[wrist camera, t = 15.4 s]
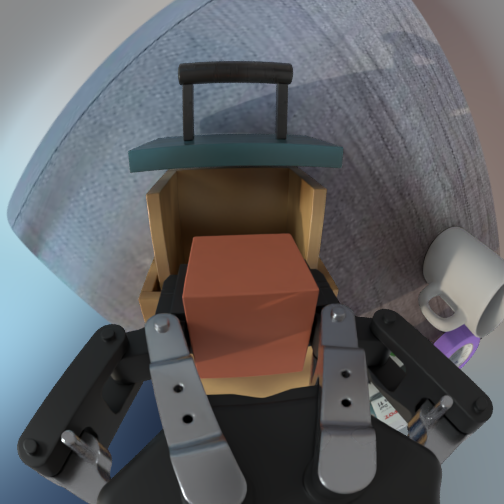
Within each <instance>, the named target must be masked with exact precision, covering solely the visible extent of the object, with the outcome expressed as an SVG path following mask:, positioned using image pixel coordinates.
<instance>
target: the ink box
mask: <svg viewBox="0 0 504 504" xmlns="http://www.w3.org/2000/svg"><path fill="white" fill-rule="evenodd" d="M390 357H391V358H392V359H393V360H394V361H395V362H396V363H397V364H398V365H399V366H400V367H401V369H402V370H403V371H404V372H405V373H406V368H405V366H404V364H403V363H402V362H401V361H400V360H399V359H398V358H397V357H396V356H395V355H394V354H393V353H392V352H391V354H390ZM368 386H369V398H370V402H371V404H372V406H373V409H374V411H375V414H376V416H377V418H378V419H379V420H381V421H382V422H384V423H386V424H387V425H389V426H391V427H392V428H394V429H396V430H397V431H398V430H400V429H402V428H403V427H405V426H407V425H408V424H407V422H406V421H405V420H404V419H403V418H402V417H401V416H400V414H399V413H398V412H397V411H396V410H395V409H394V408H393V406H392V405H391V404H390V403H389V402H388V401H387V400H386V398H385V397H384V396H383V395H382V394H381V393H380V392H379V390H378V389H377V388H376V387H375V386H374V385H373V384H372V383H371V381H370V380H369V379H368Z"/></svg>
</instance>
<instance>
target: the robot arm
mask: <svg viewBox="0 0 504 504" xmlns="http://www.w3.org/2000/svg"><path fill="white" fill-rule="evenodd" d="M304 260H305V259H304ZM305 262H306V264H307V266H308V268H309V270H310V272H311V274H312V276H313V278H314V280H315V282H316V284H317V286H318V288H319V294H318V300H317V305H316V310H315V316H314V321H313V326H312V331H311V335H310V340H309V345H308V347H309V346H311V347H312V350H313V351H312V355H311V366H310V379H309V386H306V387H299V388H292V389H289V390H286V391H283V392H280V393H277V394H274V395H271V396H268V397H265V398H259V397H251V396H244V395H237V394H212V395H206V392H205V390H204V387H203V384H202V382H201V379H200V376H199V374H198V371H197V368H196V365H195V363H194V360H193V357H192V355H190V354H193V352H192V347H191V342H190V337H189V332H188V327H187V321H186V316H185V310H184V304H183V299H182V295H183V290H184V284H185V278H186V273H187V267H188V264H180V268H179V272H178V275H169V276H168V278H167V279H166V280H165V281H164V283H163V286H162V290H161V294H160V297H159V301H158V305H157V309H156V312H155V315H154V316H152V317H150V318H149V319H148V320H147V321H146V323H145V327H144V328H142V329H139V330H135V331H131V332H127V333H125V330H124V328H122V327H121V326H119V325H116V324H109V325H105V326H103V327H101V328H100V329H98V330H97V331H96V332H95V333H94V335H93V336H92V337H91V339H90V340H89V341H88V342H87V344H86V345H85V346H84V347H83V349H82V350H81V351H80V352H79V354H78V355H77V356H76V358H75V359H74V360H73V362H72V363H71V364H70V366H69V367H68V368H67V370H66V371H65V372H64V374H63V375H62V376H61V378H60V379H59V380H58V382H57V383H56V385H55V386H54V387H53V389H52V390H51V392H50V393H49V395H48V396H47V397H46V399H45V400H44V402H43V403H42V405H41V406H40V407H39V409H38V410H37V412H36V413H35V415H34V416H33V418H32V419H31V421H30V422H29V424H28V426H27V427H26V429H25V430H24V432H23V433H22V435H21V437H20V438H19V441H18V445H17V450H18V455H19V457H20V459H21V460H22V461H23V462H24V463H25V464H26V465H28V466H29V467H31V468H32V469H34V470H35V471H37V472H38V473H39V474H40V475H41V476H43V477H45V478H46V479H48V480H50V481H52V482H54V483H55V484H57V485H59V486H61V487H64V488H65V489H67V490H68V491H70V492H72V493H73V494H75V495H76V496H78V497H79V498H81V499H83V500H84V501H86V502H87V503H89V504H440V487H441V479H442V469H441V464H442V463H443V462H444V461H445V460H446V459H447V458H448V457H449V456H450V455H451V454H452V453H453V452H454V450H455V449H456V448H457V447H458V446H459V445H460V444H461V443H462V442H463V441H465V440H466V439H467V438H468V437H469V436H471V435H472V434H473V433H474V432H475V431H476V430H477V429H479V428H480V427H481V426H482V425H483V424H484V423H485V422H486V421H487V420H488V419H489V418H490V417H491V415H492V412H493V406H492V402H491V400H490V398H489V397H488V396H487V395H486V394H485V393H484V392H483V391H482V390H481V389H480V388H479V387H478V386H477V385H476V384H475V383H474V382H473V381H472V380H471V379H470V378H469V377H468V376H467V375H466V374H465V373H464V372H462V371H461V370H460V369H459V368H458V367H457V366H456V365H455V364H454V363H453V362H452V361H451V360H450V359H449V358H448V357H447V356H445V355H444V354H443V353H442V352H441V351H440V350H439V349H438V348H437V347H436V346H434V345H433V344H432V343H431V342H430V341H429V340H428V339H427V338H426V337H424V336H423V335H422V334H421V333H420V332H419V331H418V330H416V329H415V328H414V327H413V326H412V325H411V324H410V323H408V322H407V321H406V320H405V319H404V318H403V317H402V316H400V315H399V314H398V313H396V312H395V311H392V310H389V309H381V310H378V311H376V312H375V313H374V316H373V318H365V317H357V316H355V315H354V313H353V311H352V310H351V309H350V308H349V307H347V306H345V305H342V304H340V303H339V301H338V299H337V297H336V296H335V294H334V292H333V290H332V288H331V287H330V285H329V283H328V282H327V280H326V278H325V276H324V274H323V273H321V272H320V271H319V270H317V269H310V267H309V265H308V263H307V261H306V260H305ZM391 352H392V353H393V354H394V355H395V356H396V357H397V358H398V359H399V360H400V361H401V362H402V363H403V364H404V366H405V368H406V373H405V372H404V371H403V370H402V369H401V367H400V366H399V365H398V364H397V363H396V362H395V361H394V360H393V359H392V358H391V357H390V354H391ZM150 379H152V384H153V388H154V393H155V397H156V401H157V406H158V410H159V414H160V418H161V422H162V426H163V429H162V430H161V431H160V432H159V433H158V434H157V435H156V436H155V437H154V438H153V439H152V440H151V441H150V442H149V443H148V444H147V445H146V446H145V447H144V448H143V449H142V450H141V451H140V452H139V453H138V454H137V455H136V456H135V457H134V458H133V459H132V460H131V461H130V462H129V463H128V464H127V465H126V466H125V467H124V468H122V469H121V470H120V471H119V472H118V473H117V474H116V475H115V476H114V477H113V478H112V479H111V477H110V469H111V465H112V457H111V454H110V452H109V451H108V447H109V445H110V443H111V441H112V439H113V437H114V436H115V434H116V432H117V430H118V428H119V426H120V424H121V422H122V420H123V418H124V417H125V415H126V413H127V411H128V409H129V407H130V406H131V404H132V402H133V400H134V398H135V396H136V395H137V393H138V391H139V389H140V387H141V385H142V384H143V381H146V380H150ZM368 379H369V380H370V381H371V383H372V384H373V385H374V386H375V387H376V388H377V389H378V390H379V392H380V393H381V394H382V395H383V396H384V397H385V398H386V400H387V401H388V402H389V403H390V404H391V405H392V406H393V408H394V409H395V410H396V411H397V412H398V413H399V414H400V416H401V417H402V418H403V419H404V420H405V421H406V422H407V424H408V427H407V428H408V437H407V436H406V435H404V434H402V433H401V432H399V431H397V430H396V429H394V428H392V427H391V426H389V425H387V424H386V423H384V422H382V421H381V420H379V419H378V418H376V417H374V416H373V415H371V412H370V398H369V386H368Z"/></svg>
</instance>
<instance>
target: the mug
mask: <svg viewBox="0 0 504 504" xmlns="http://www.w3.org/2000/svg"><path fill="white" fill-rule="evenodd" d="M423 274H424V278H425V280H426V281H427V283H428V284H429V285H428V286H426V287H425V288H424V289H423V290H422V291H421V292H420V294H419V298H418V302H419V306H420V309H421V311H422V313H423V314H424V316H425V317H426V319H427V320H428V321H429V322H430V323H431V324H432V325H433V326H434V327H435V328H437V329H438V330H441V331H444V332H448V331H452V330H454V329H456V328H458V327H460V326H462V325H463V324H465V325H466V326H467V327H468V329H469V330H470V331H471V332H472V333H473V334H474V335H475V336H476V337H478V338H480V337H484V336H486V335H488V334H489V333H490V332H492V331H493V330H494V329H495V328H496V327H498V325H500V323H501V322H502V321H503V320H504V259H502V258H501V257H500V256H499V255H497V254H496V253H495V252H494V251H492V250H491V249H490V248H488V247H487V246H486V245H484V244H483V243H482V242H480V241H479V240H478V239H476V238H475V237H474V236H472V235H471V234H470V233H469V232H467V231H466V230H464V229H463V228H460V227H451V228H448V229H446V230H445V231H443V232H442V233H441V234H439V235H438V237H437V238H436V239H435V240H434V241H433V243H432V244H431V246H430V248H429V249H428V251H427V254H426V256H425V260H424V264H423ZM437 295H440V297H441V298H442V299H443V300H444V301H445V302H446V303H447V304H448V305H449V306H450V307H451V309H452V310H453V311H454V312H455V313H454V314H453V315H452V316H450V317H448V318H442V317H440V316H438V315H437V314H435V313H434V312H433V311H432V310H431V308H430V306H429V304H428V301H429V300H430V299H431V298H433V297H435V296H437Z"/></svg>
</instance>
